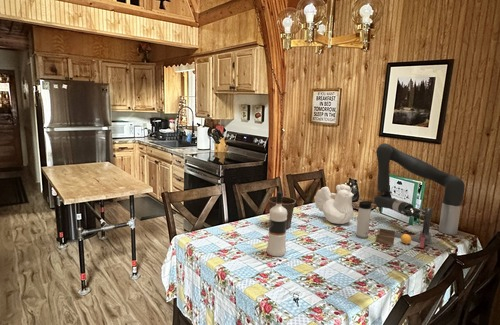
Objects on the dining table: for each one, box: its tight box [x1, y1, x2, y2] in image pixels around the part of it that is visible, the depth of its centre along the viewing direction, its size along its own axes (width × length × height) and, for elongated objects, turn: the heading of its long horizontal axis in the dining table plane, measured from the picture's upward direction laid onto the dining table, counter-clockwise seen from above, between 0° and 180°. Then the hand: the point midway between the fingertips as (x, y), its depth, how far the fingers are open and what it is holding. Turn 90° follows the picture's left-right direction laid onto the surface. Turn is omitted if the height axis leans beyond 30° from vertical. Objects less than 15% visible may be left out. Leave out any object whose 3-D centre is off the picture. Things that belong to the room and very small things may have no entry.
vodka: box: [266, 191, 287, 257], centre depth 150 cm, size 9×9×30 cm
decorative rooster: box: [314, 183, 355, 225], centre depth 199 cm, size 25×16×25 cm, turn 39°
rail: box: [394, 231, 433, 245], centre depth 176 cm, size 5×23×1 cm, turn 64°
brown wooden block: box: [375, 227, 396, 246], centre depth 173 cm, size 12×8×4 cm
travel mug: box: [355, 200, 373, 239], centre depth 175 cm, size 6×7×20 cm
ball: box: [400, 233, 412, 245], centre depth 169 cm, size 5×5×5 cm
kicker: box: [419, 207, 433, 249], centre depth 167 cm, size 14×5×18 cm, turn 154°
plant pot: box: [267, 195, 297, 230], centre depth 187 cm, size 16×16×16 cm
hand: (425, 216), depth 172 cm, fingers open, 8 cm apart
